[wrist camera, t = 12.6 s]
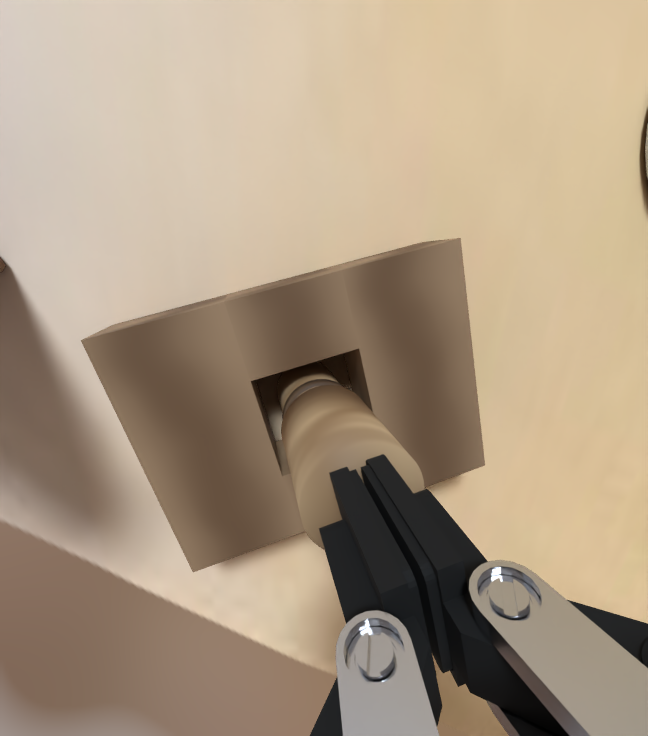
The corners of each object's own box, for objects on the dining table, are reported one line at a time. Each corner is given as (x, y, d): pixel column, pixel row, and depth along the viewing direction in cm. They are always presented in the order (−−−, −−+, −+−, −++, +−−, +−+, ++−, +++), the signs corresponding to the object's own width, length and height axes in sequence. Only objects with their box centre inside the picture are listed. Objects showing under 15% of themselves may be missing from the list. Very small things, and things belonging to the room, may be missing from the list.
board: (422, 242, 19) (460, 238, 16) (449, 436, 23) (484, 465, 20) (112, 325, 17) (81, 340, 14) (200, 523, 21) (193, 572, 17)
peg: (330, 346, 19) (414, 425, 10) (345, 407, 21) (432, 529, 11) (262, 366, 19) (284, 469, 10) (282, 428, 20) (318, 572, 11)
